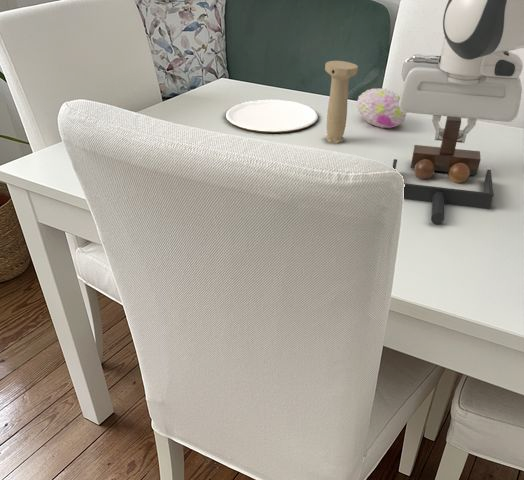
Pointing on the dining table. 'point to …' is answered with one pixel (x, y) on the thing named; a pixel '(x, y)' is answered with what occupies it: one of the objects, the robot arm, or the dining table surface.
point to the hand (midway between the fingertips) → (449, 140)
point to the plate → (271, 116)
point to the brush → (447, 151)
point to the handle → (338, 98)
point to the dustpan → (449, 196)
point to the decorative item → (380, 108)
